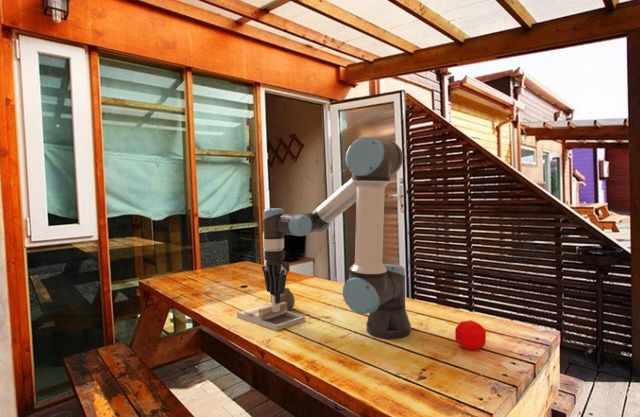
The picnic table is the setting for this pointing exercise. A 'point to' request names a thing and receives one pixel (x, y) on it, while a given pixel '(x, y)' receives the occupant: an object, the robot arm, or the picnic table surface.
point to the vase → (287, 299)
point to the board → (275, 320)
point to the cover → (266, 311)
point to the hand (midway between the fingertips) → (275, 311)
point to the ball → (470, 335)
